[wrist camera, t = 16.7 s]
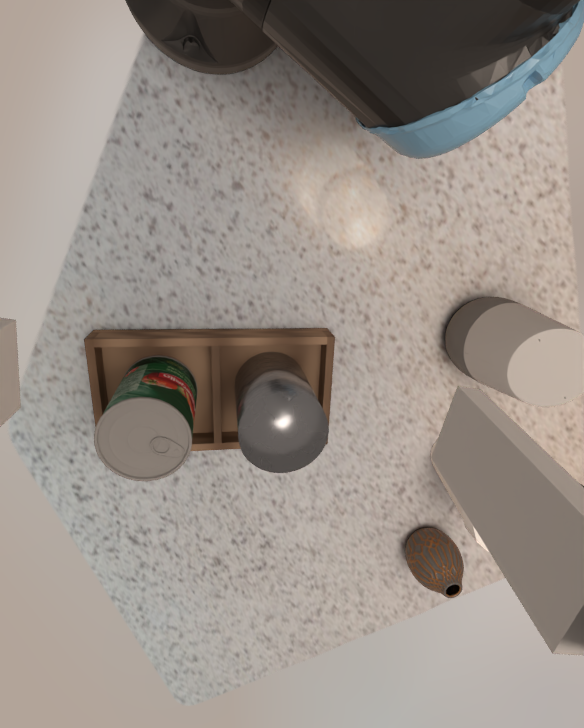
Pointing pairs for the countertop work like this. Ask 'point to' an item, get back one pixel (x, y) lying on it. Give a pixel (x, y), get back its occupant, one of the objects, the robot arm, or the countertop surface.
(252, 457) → the seated cylinder
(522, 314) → the smart speaker
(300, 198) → the countertop surface
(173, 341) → the wooden divided tray
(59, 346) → the countertop surface
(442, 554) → the vase
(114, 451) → the canned tomato
